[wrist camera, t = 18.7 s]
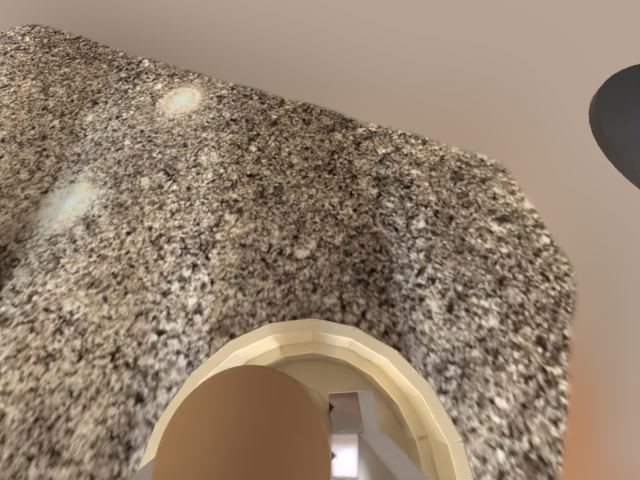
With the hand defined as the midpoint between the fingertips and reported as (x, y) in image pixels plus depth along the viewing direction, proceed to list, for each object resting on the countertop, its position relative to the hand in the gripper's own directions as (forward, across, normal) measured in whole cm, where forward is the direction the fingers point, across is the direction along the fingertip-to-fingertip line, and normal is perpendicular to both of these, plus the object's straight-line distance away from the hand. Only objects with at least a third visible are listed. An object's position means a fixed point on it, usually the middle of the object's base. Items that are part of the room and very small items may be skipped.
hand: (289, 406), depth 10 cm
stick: (+5, 0, +6) cm, 8 cm away
